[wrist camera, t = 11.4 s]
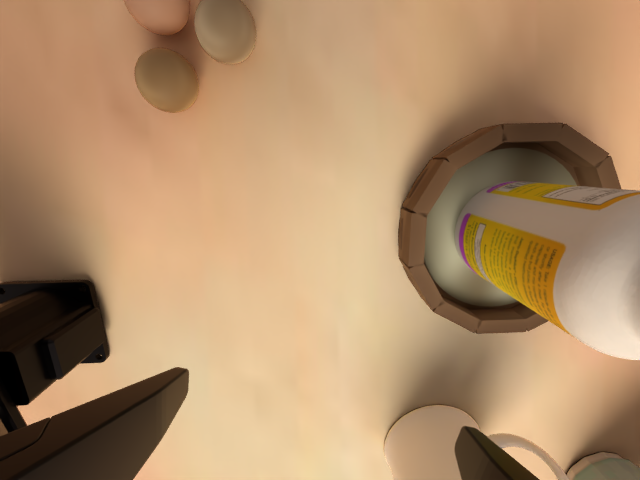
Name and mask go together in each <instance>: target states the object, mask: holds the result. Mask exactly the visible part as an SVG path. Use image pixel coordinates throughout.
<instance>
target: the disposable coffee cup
mask: <svg viewBox="0 0 640 480" xmlns="http://www.w3.org/2000/svg"><path fill="white" fill-rule="evenodd" d="M567 477H568V479H569V480H640V468H639V467H637V466H636V465H635V464H633V463H632V462H631V461H629V460H627V459H623V458H622V457H620V456H619V455H618V454H613V453H605V452H600V453H597V454H593V455H590V456H587V457H584V458H583V459H581V460H580V461H579V462H578V463H576V464H575V465H574V466H572V467H571V468H570V469H569V471H568V473H567Z"/></svg>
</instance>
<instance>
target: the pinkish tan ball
mask: <svg viewBox="0 0 640 480" xmlns="http://www.w3.org/2000/svg"><path fill="white" fill-rule="evenodd" d="M124 3H125V5H126V7H127V9H128V11H129V12H130V14H131V15H132V16H133V18H134V19H135V20H136V21H137V22H138V23H139V24H140V25H142V26H143V27H144V28H146V29H147V30H149V31H151V32H153V33H156V34H160V35H172V34H175V33H177V32H179V31H180V30H181V29H182V28H183V27H184V26H185V24H186V23H187V21H188V17H189V13H190V3H189V0H124Z"/></svg>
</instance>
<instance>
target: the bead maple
mask: <svg viewBox="0 0 640 480" xmlns="http://www.w3.org/2000/svg"><path fill="white" fill-rule="evenodd" d="M194 23H195V32H196V35H197V38H198V40H199V42H200V44H201V46H202V47H203V49H204V50H205V51H206V53H207V54H208V55H209V56H211V57H212V58H213V59H215V60H216V61H218V62H221V63H224V64H237V63H240V62H242V61H244V60H245V59H247V58H248V57H249V55H250V54H251V53H252V51H253V49H254V46H255V42H256V27H255V23H254V20H253V17H252V15H251V13H250V11H249V10H248V8H247V7H246V6H245V4H244V3H243V2H242V1H241V0H202V1H201V2H200V3H199V5H198V7H197V9H196V13H195V19H194Z"/></svg>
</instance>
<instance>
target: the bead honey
mask: <svg viewBox="0 0 640 480" xmlns="http://www.w3.org/2000/svg"><path fill="white" fill-rule="evenodd" d="M135 80H136V84H137V87H138V89H139V91H140V93H141V94H142V96H143V97H144V98H145V99H146V100H147V101H148V102H149V103H150V104H151V105H153V106H154V107H156V108H158V109H160V110H162V111H165V112H171V113H176V112H182V111H184V110H186V109H188V108H189V107H191V106H192V105H193V104H194V102H195V101H196V99H197V96H198V92H199V83H198V78H197V75H196V73H195V71H194V69H193V67H192V66H191V64H190V63H189V62H188V61H187V60H186V59H185V58H184V57H183V56H181V55H180V54H178V53H177V52H175V51H172V50H170V49H166V48H154V49H150V50H148V51H146V52H145V53H143V54H142V55H141V56H140V57H139V59H138V61H137V63H136V66H135Z"/></svg>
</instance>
